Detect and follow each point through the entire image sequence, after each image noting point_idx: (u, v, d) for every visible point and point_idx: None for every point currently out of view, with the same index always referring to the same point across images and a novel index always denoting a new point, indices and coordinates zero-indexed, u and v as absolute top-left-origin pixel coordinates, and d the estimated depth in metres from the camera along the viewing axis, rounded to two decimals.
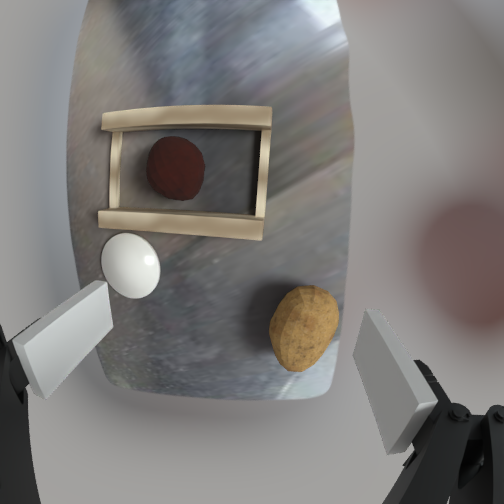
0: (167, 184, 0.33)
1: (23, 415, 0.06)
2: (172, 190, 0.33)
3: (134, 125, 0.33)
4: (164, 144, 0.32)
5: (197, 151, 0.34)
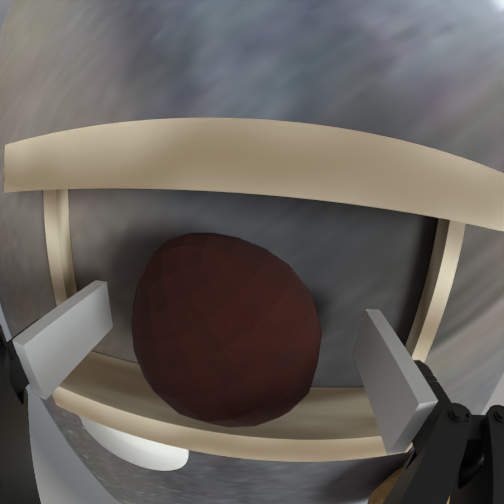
0: (215, 423, 0.09)
1: (23, 415, 0.06)
2: None
3: (77, 185, 0.10)
4: (191, 298, 0.08)
5: (309, 305, 0.10)
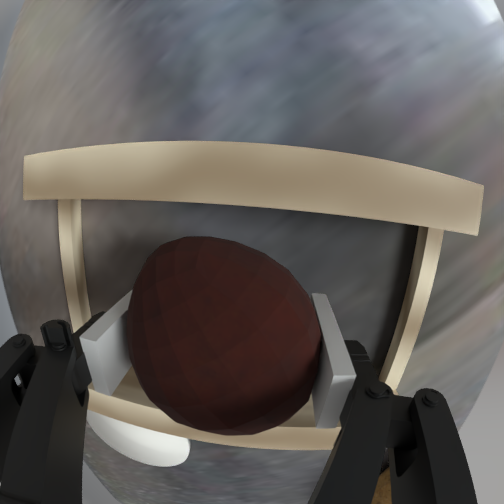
0: (213, 432, 0.09)
1: (81, 418, 0.07)
2: (228, 435, 0.09)
3: (96, 196, 0.11)
4: (185, 305, 0.08)
5: (309, 311, 0.10)
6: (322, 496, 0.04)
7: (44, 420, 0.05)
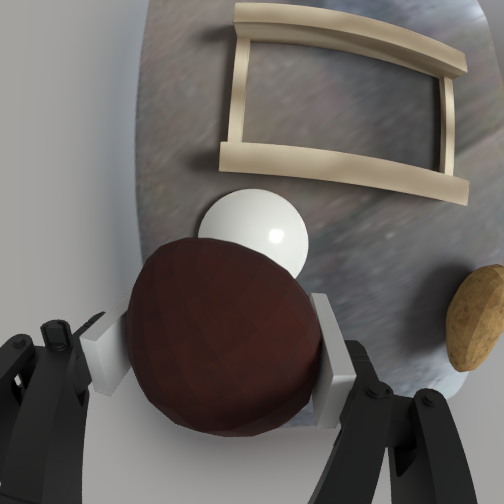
0: None
1: (81, 418, 0.07)
2: (228, 436, 0.09)
3: (296, 24, 0.19)
4: (185, 307, 0.08)
5: (309, 312, 0.10)
6: (322, 496, 0.04)
7: (44, 420, 0.05)
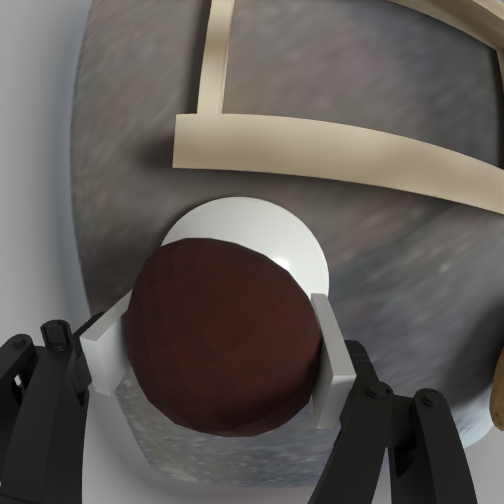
0: (212, 434, 0.09)
1: (81, 418, 0.07)
2: (228, 436, 0.09)
3: None
4: (185, 307, 0.08)
5: (309, 313, 0.10)
6: (322, 496, 0.04)
7: (44, 420, 0.05)
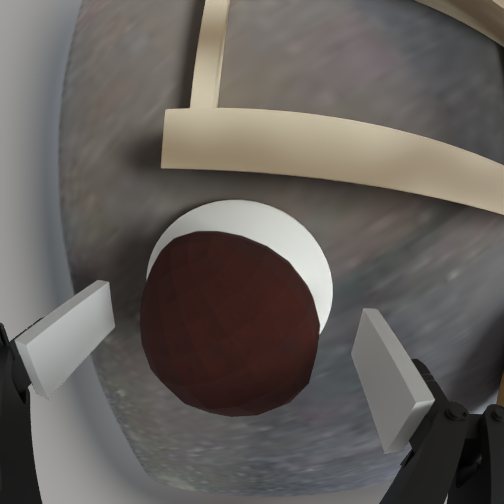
0: (220, 412, 0.10)
1: (25, 415, 0.06)
2: None
3: None
4: (199, 290, 0.09)
5: (308, 298, 0.11)
6: None
7: None
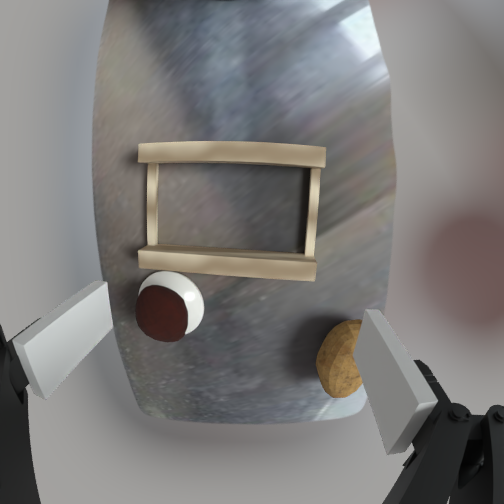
0: (156, 337, 0.36)
1: (23, 415, 0.06)
2: (161, 340, 0.37)
3: (177, 160, 0.34)
4: (148, 302, 0.36)
5: (179, 305, 0.37)
6: None
7: None
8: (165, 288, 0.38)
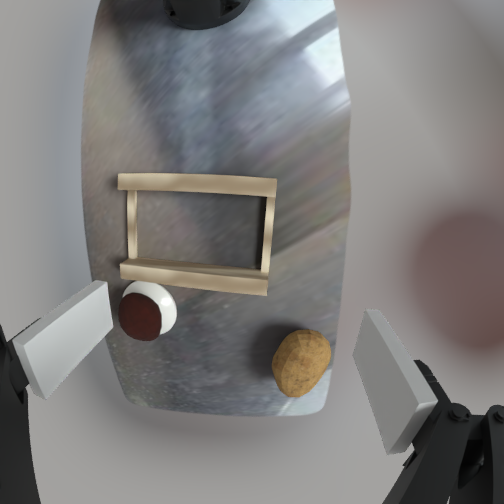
0: (134, 337, 0.42)
1: (23, 415, 0.06)
2: (139, 339, 0.43)
3: (149, 189, 0.39)
4: (128, 308, 0.42)
5: (153, 310, 0.43)
6: None
7: None
8: (142, 296, 0.44)
